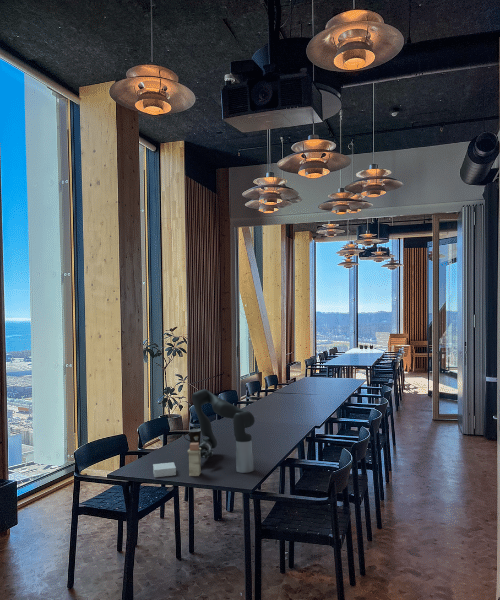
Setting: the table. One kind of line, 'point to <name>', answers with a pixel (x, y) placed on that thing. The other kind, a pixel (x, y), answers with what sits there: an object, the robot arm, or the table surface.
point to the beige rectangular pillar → (194, 462)
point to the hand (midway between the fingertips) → (198, 456)
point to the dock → (164, 469)
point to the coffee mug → (194, 436)
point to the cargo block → (194, 446)
